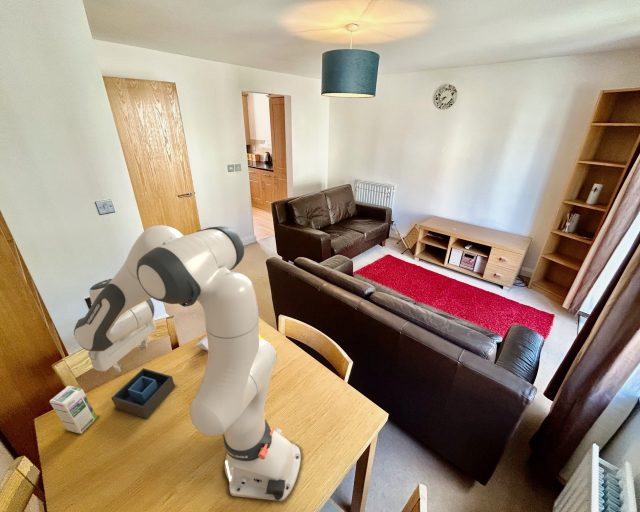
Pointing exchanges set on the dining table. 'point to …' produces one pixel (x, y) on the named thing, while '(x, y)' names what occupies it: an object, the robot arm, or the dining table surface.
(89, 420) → the syrup box
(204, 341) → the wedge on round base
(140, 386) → the small bin
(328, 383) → the dining table surface
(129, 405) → the big bin
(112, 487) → the dining table surface
